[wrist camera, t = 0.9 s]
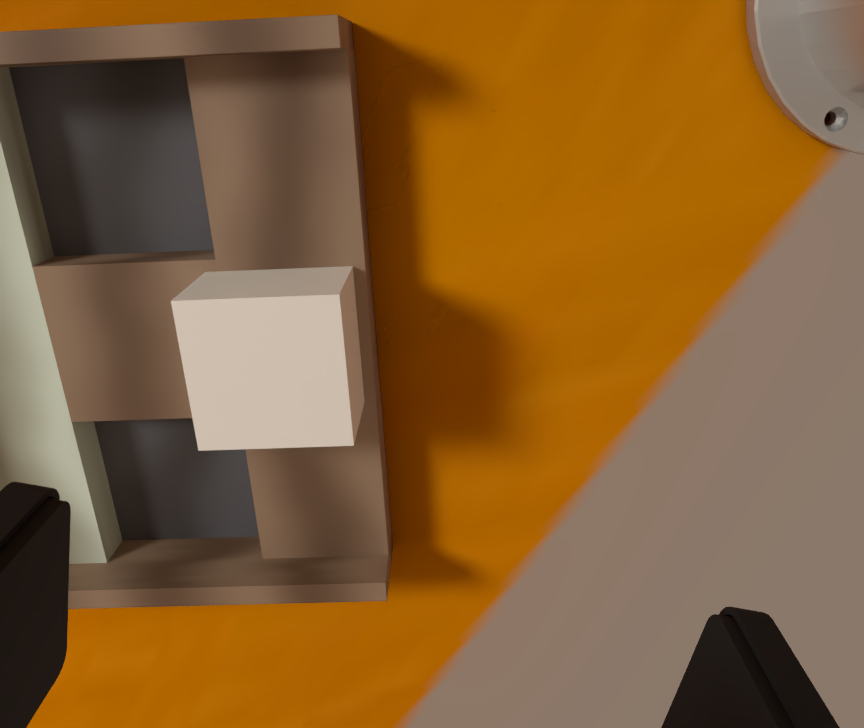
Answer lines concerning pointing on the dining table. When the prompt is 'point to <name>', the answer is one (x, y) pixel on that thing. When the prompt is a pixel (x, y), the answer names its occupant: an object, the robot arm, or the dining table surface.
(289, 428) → the cream block
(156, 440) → the box
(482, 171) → the dining table surface
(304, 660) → the dining table surface
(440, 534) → the dining table surface
